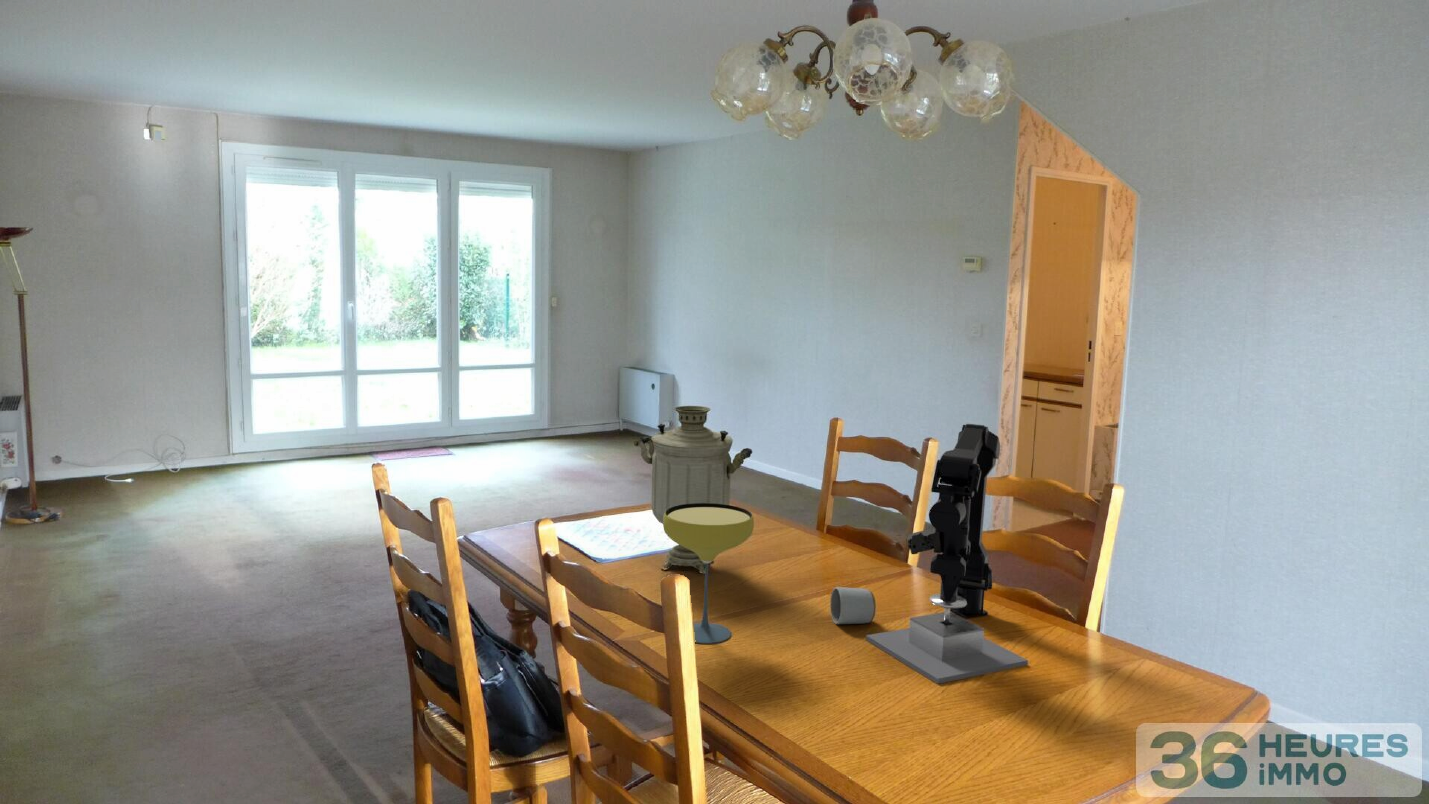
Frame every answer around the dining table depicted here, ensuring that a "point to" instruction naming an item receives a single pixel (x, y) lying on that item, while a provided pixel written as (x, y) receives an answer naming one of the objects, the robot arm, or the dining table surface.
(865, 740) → the dining table surface
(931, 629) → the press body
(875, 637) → the slate mat
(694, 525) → the cocktail glass
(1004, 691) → the dining table surface
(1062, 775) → the dining table surface
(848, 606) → the ceramic mug
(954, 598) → the plunger
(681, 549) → the samovar
